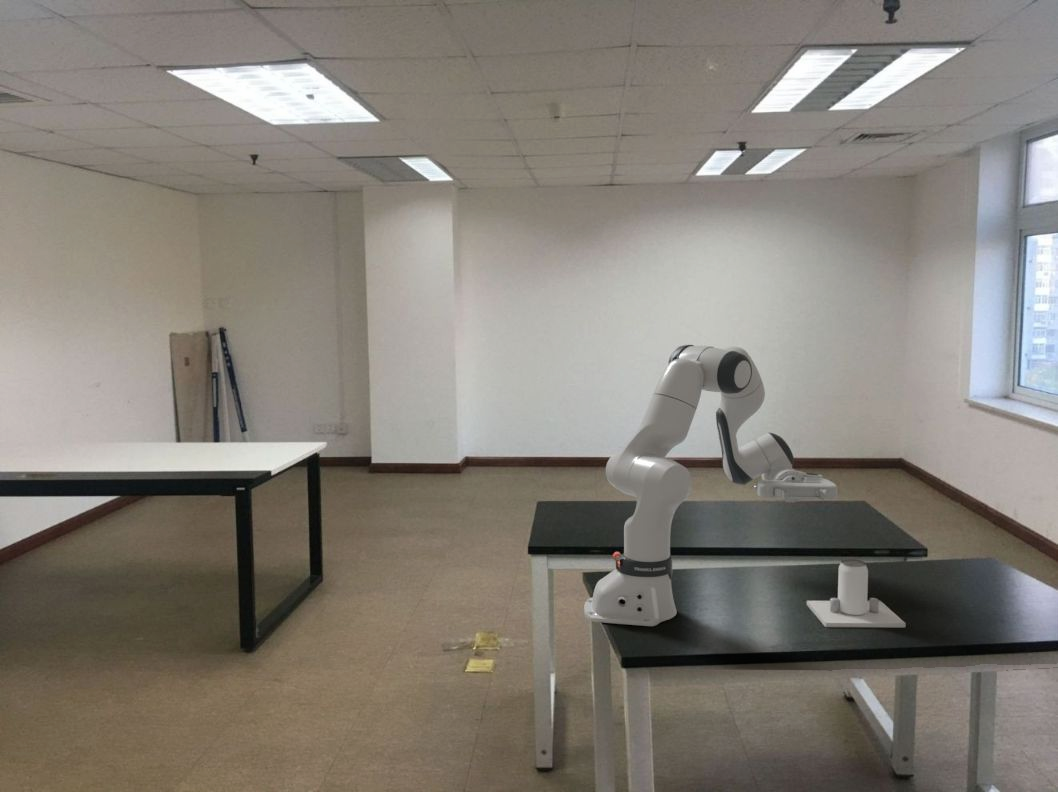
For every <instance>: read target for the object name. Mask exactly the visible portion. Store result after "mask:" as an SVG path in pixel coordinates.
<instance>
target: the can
mask: <svg viewBox="0 0 1058 792" xmlns="http://www.w3.org/2000/svg"><path fill="white" fill-rule="evenodd" d="M837 575H838V576H837V577H838V578H837V580H838V581H837V584H838V585H837V598H838V599H839V611H840V612H842V613H844V614H847V615H852V616H861V615H864V614H865V613H866V612H867V601H868V590H869V589H868V588H869V586H868V585H869V569H868V567H867V563H866V562H865V561H864V560H861V559H858V558H857V559H856V558H844V559H841V560H840V564H839V566H838V574H837Z"/></svg>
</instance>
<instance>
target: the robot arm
mask: <svg viewBox="0 0 1058 792" xmlns="http://www.w3.org/2000/svg"><path fill="white" fill-rule="evenodd" d="M702 391H706V392H713V393H720V394H721V400H720V405H719V407H718V408H717V410H716V412H715V421H716V427H717V432H718V439H719V443H720V449H721V462H722V468H723V470H724V473H725V475H726V477H727V478H728V480H730V482H731V483H733V484H737V485H742V486H745V485H747V484H748V483H750V482H752V481H753V480H754V479H756V478H758V477H760V476H761V479H760V480H757V483H755V484H752V488H753V489H755V490H756V494H757V496H758V497H759V498H763V499H780V501H783V502H786V503H796V502H799V501H805V500H821V501H827V500H837V499H838V492H839V490H838V489H839V488H838V485H837V484H836V483H834V482H832V481H830V480H829V479H828V478H827V479H826V478H824V476H823V475H822V474H819V473H811V472H804V471H801V470H798V469H794V468H793V467H794V462H795V461H794V460H795V458H794V454H793V451H792V449H791V448H790V447H789V445H788V443H787V442H786V440H784V438H783V437H781V436H780V435H778V434H776V433H774V432H773V433H772V432H767V433H765V434H763V435H760V436H759V437H757V438H754V439H753V440H751V441H748V442H747V443H745V444H743V445H741V446H738V440H737V434H738V431H739V430H740V428H741V427H742V425H744V424H745V422H746V421H748V420H749V419H750V418H751V417H752V416H753V415H755V414H756V413H757V412H758V410H759V409H760V408H761V406H762V405H763V403H764V401H765V397H766V390H765V386H764V382H763V380H762V376H761V374H760V373H759V370H758V368H757V366H756V364H755V362H754V361H753V359H752V357H751V356H750V355H749V352H747V351H746V350H745V349H744V348H741V347H738V346H730V347H726V348H724V349H723V348H719V347H714V346H707V345H693V344H684V345H680V346H678V347H676V348H675V350H674V351H673V352H672V353H671V355H670V356H669V360H668V364H667V366H666V368H665V369H664V371H663V372H662V374H661V376H660V377H659V380H658V381H657V384H656V386H655V388H654V391H653V394H652V395H651V396H652V397H651V399H650V402H649V404H648V407H647V409H646V410H645V411H646V412H645V414H644V416H643V419H642V421H641V423H640V425H639V427H638V428H637V430H636V431H635V433H634V435H633V436H632V437H631V438H630V439H629V441H628V442H627V443H626V444H625V446H623V447H622V448H621V449H620V450H618V451H617V452H615V453H614V454H612V455H611V456H610V457H609V459H608V461H607V462H606V465H605V476H606V480H607V481H608V483H609V484H610V485H611V486H612V487H614V488H615V489H616V490H618V491H619V492H621V493H622V494H625V495H627V496H630V497H634V498H636V506H635V510H634V512H633V515H631V516H630V517H628V518H627V520H626V521H625V522H624V527H623V547H624V548H623V553H621V552H620V551H615V552H614V553H613V554H612V556H613V561H615V569H613V570H612V571H611V572H609V573H608V574H607V575H605V576H603V578H600V579H599V580H598V581H597V583H596V584H595V586H594V587H595V588H594V590H593V594H592V597H589V598H588V599H587V600H586V601H585V602H584V606H583V613H584V616H585V617H586V619H587V620H589V621H591V622H593V623H594V622H596V623H603V624H604V623H606V624H617V625H632V626H643V627H655V626H658V625H659V624H660V623H662V622H665V621H667V620H668V621H669V620H671V619H674V617H675V616H676V615H677V609H676V603H675V601H674V595H673V588H672V576H673V557H672V555H671V529H672V522H673V519H674V515H675V513H676V510H677V508H678V507H679V506H680V505H681V504H683V502H685V501H686V500H687V499H688V498H689V496H690V494H691V491H692V484H693V482H692V481H693V478H692V475H691V473H690V471H689V470H688V468H687V467H685V466H684V465H682V464H681V463H679V462H677V461H676V460H673V459H672V458H668V457H667V455H668V454H669V453H670V452H671V451H672V450H673V448H675V447H677V446H678V445H680V444H681V443H683V442H684V441H685V440H686V438H687V436H688V433H689V431H690V427H691V426H692V423H693V420H694V417H695V414H696V411H697V409H698V405H699V402H700V399H701V396H702Z"/></svg>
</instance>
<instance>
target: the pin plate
mask: <svg viewBox="0 0 1058 792" xmlns="http://www.w3.org/2000/svg"><path fill="white" fill-rule="evenodd" d="M868 599H869V600H867V612H866V613H865V614H864V615H861V616H852V615H847V614H844V613H842V612H840V611H839V599H838V597H830V599H829V600H806V606H807V607H808V608H809V609H810V611H811V612H812V613H813V614H814V616H816V617H817V619H818V620H819V621H820V623H822V625H823V626H824V627H825V628H906V622H905V621H904V620H902V619H901V618H900V617H899V616H898V615H897V614H896V613H895V612H894V611H892V610H891V609H890V608H889V607H888V606H887V605H886V604H885V603H884V602H883V601H881V600H879V599H878V598H876V597H869V598H868Z"/></svg>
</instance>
